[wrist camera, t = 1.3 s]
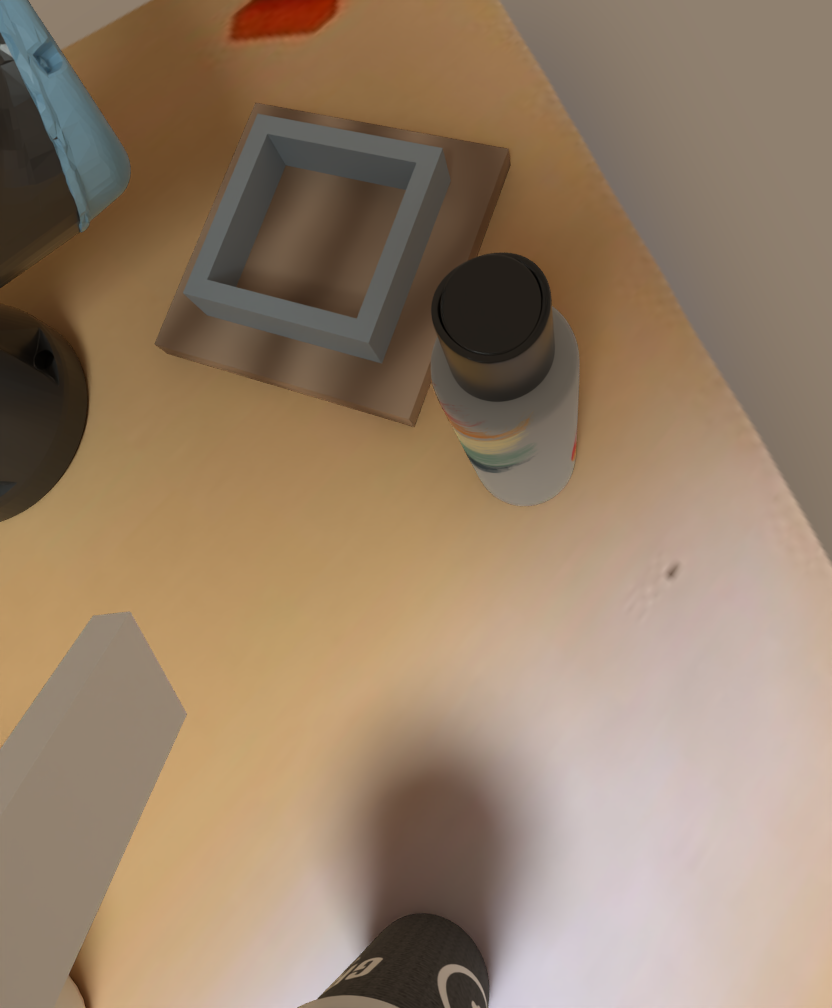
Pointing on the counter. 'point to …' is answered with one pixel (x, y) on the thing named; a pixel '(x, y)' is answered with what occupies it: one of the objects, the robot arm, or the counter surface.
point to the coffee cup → (413, 970)
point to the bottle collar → (248, 206)
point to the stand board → (341, 273)
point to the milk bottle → (70, 996)
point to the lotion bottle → (507, 376)
